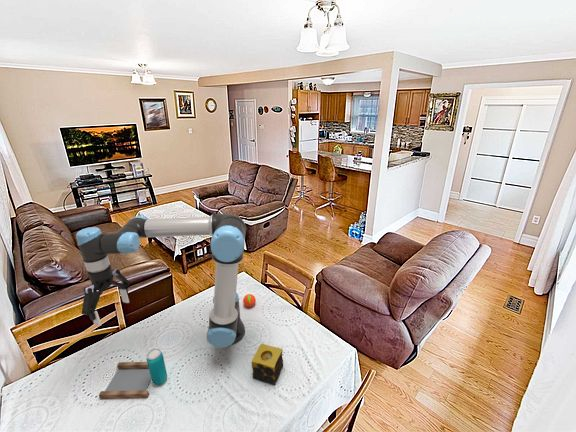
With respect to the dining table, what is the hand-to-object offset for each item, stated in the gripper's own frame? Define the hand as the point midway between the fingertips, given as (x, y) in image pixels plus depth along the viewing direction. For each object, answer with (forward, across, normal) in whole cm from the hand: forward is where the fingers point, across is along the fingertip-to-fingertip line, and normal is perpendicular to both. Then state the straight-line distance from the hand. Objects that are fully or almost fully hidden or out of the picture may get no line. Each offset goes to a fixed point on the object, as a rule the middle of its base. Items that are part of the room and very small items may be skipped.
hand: (112, 312), depth 114 cm
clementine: (+28, -49, +36) cm, 67 cm away
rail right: (+27, +1, +7) cm, 28 cm away
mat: (+27, +7, +8) cm, 29 cm away
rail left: (+27, +13, +11) cm, 32 cm away
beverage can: (+28, +4, +20) cm, 34 cm away
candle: (+28, -12, +61) cm, 68 cm away
